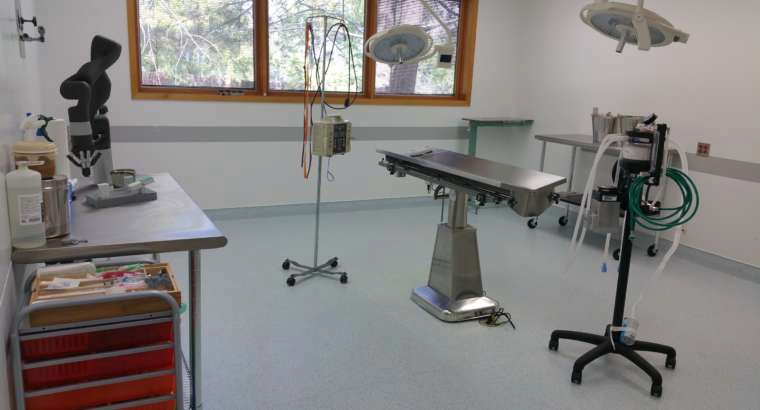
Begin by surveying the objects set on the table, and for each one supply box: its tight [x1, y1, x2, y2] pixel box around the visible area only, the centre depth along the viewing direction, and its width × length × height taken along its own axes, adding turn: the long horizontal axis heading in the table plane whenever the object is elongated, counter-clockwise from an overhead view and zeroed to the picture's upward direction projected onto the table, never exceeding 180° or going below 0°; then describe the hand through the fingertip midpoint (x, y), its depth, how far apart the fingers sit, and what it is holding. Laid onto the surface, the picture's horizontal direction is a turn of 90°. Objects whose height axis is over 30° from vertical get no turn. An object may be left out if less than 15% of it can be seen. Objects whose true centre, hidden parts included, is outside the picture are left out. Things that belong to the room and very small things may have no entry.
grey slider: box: [123, 176, 134, 190], centre depth 237 cm, size 3×3×6 cm
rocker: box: [127, 175, 156, 191], centre depth 231 cm, size 5×10×2 cm, turn 133°
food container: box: [109, 168, 138, 191], centre depth 247 cm, size 12×6×10 cm, turn 84°
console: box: [85, 186, 158, 209], centre depth 231 cm, size 15×24×6 cm, turn 133°
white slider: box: [96, 183, 110, 198], centre depth 222 cm, size 3×3×6 cm
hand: (86, 176), depth 216 cm, fingers closed
